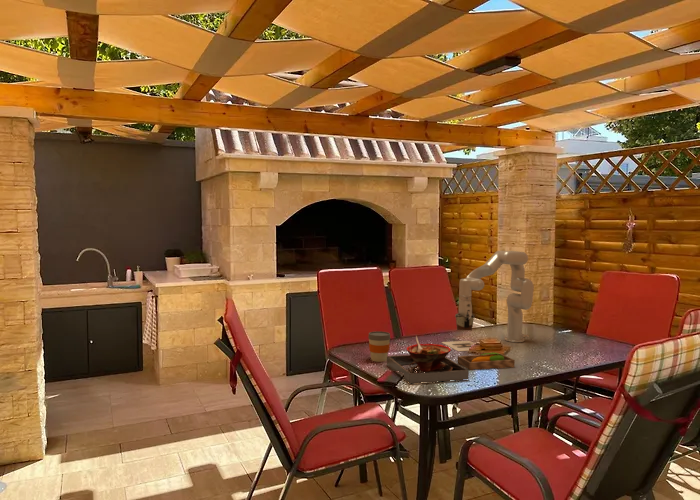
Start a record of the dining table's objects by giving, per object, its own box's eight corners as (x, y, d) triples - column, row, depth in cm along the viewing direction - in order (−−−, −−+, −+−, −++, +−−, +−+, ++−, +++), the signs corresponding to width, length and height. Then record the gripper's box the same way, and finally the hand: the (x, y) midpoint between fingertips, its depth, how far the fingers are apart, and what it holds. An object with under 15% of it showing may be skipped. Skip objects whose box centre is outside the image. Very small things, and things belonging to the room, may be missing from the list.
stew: (399, 363, 297) (400, 335, 296) (441, 362, 301) (442, 334, 300) (413, 378, 270) (414, 347, 269) (459, 377, 273) (460, 345, 272)
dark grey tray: (439, 362, 301) (439, 353, 301) (468, 380, 268) (468, 370, 267) (386, 365, 294) (387, 356, 293) (410, 384, 260) (410, 374, 260)
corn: (507, 353, 293) (475, 355, 287) (507, 366, 293) (475, 369, 287) (499, 350, 300) (468, 353, 294) (500, 364, 300) (468, 367, 294)
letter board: (469, 341, 355) (469, 340, 355) (487, 349, 332) (487, 348, 332) (441, 342, 350) (441, 341, 350) (458, 351, 327) (458, 350, 327)
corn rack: (500, 360, 306) (501, 353, 306) (514, 367, 293) (514, 360, 293) (457, 363, 299) (457, 356, 299) (469, 370, 286) (469, 362, 286)
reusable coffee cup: (374, 363, 297) (375, 336, 296) (364, 358, 308) (364, 332, 307) (394, 361, 303) (394, 334, 302) (382, 355, 314) (383, 330, 313)
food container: (472, 328, 344) (473, 313, 343) (474, 330, 338) (474, 314, 337) (453, 328, 344) (453, 312, 344) (454, 330, 338) (455, 314, 338)
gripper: (477, 300, 332) (476, 329, 333) (464, 296, 348) (463, 323, 349) (466, 300, 330) (465, 329, 331) (453, 296, 347) (452, 324, 347)
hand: (464, 326), depth 340 cm, fingers closed on food container, 5 cm apart
